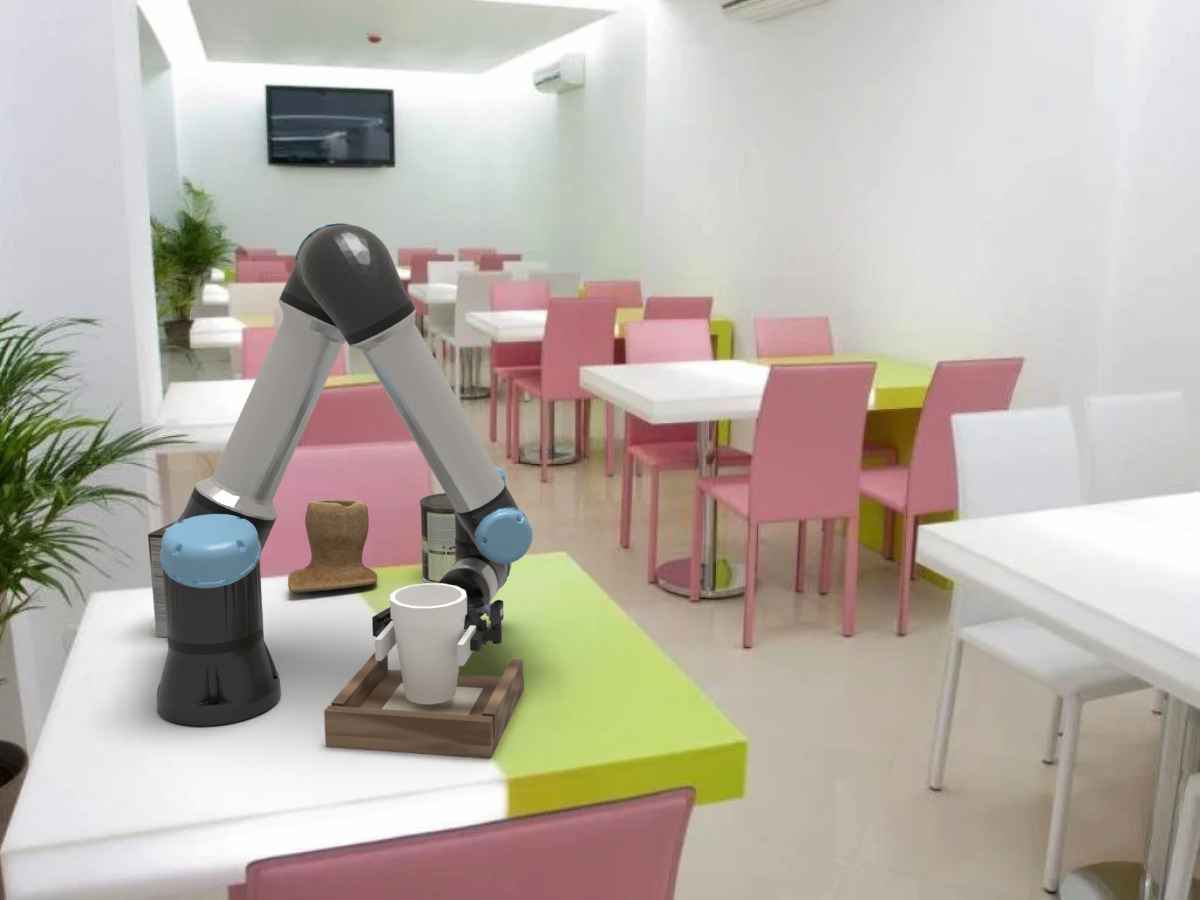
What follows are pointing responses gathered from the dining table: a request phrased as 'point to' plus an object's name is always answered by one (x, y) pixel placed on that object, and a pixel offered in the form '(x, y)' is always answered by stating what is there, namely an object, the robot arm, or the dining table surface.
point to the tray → (422, 713)
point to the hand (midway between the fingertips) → (419, 652)
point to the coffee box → (158, 580)
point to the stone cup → (334, 547)
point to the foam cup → (428, 639)
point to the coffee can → (437, 536)
